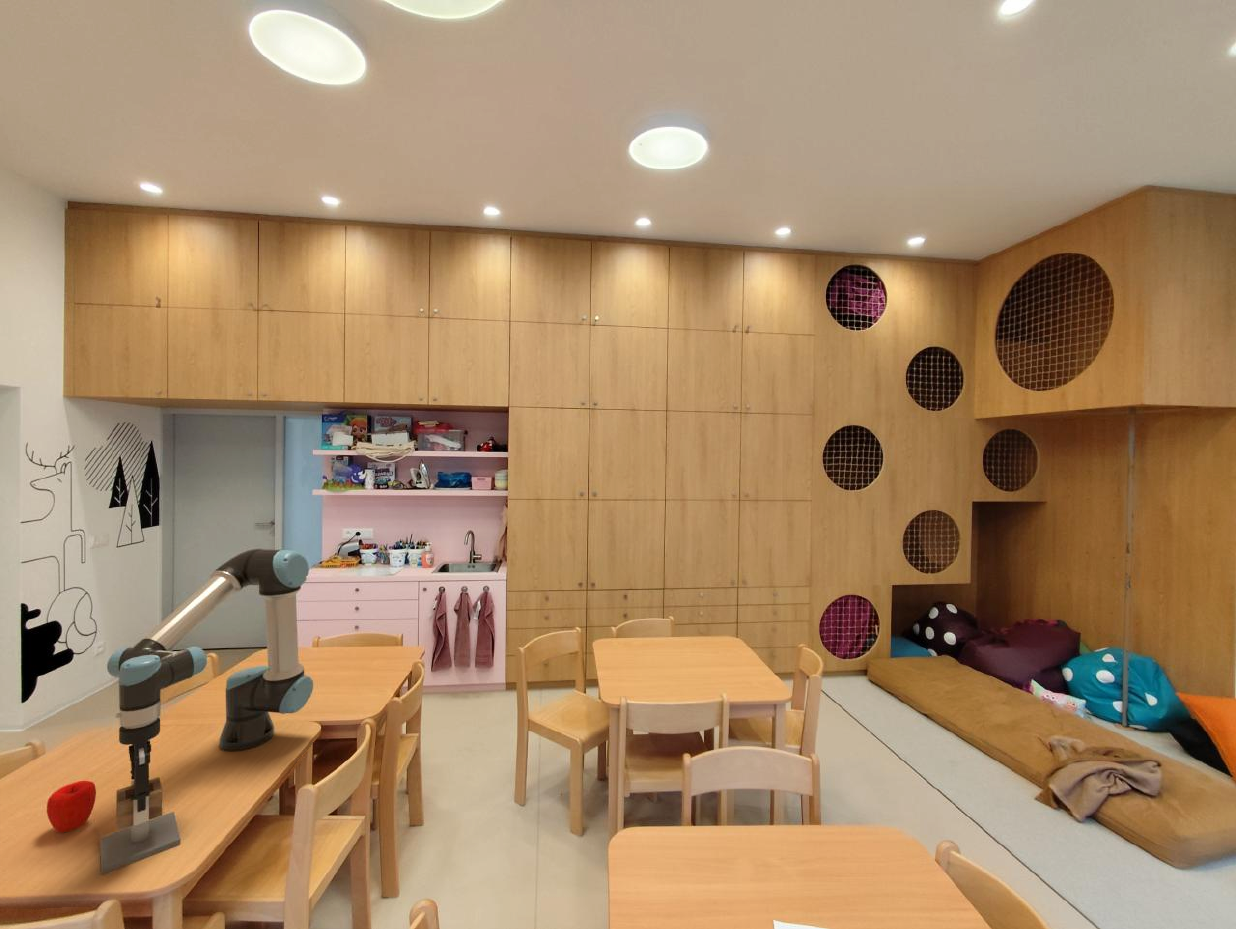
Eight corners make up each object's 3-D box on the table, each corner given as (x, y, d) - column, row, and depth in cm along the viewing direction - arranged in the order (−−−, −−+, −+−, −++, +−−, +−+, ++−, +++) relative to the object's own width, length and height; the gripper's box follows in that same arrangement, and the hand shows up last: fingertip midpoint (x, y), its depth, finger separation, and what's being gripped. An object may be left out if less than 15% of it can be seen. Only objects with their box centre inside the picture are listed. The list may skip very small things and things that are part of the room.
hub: (159, 800, 137) (159, 777, 137) (162, 815, 131) (162, 791, 131) (116, 814, 131) (116, 790, 131) (117, 830, 125) (117, 805, 125)
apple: (64, 842, 131) (64, 799, 131) (36, 838, 133) (36, 795, 132) (105, 818, 140) (105, 777, 140) (78, 814, 141) (78, 774, 141)
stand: (173, 816, 141) (173, 781, 141) (180, 843, 131) (180, 806, 131) (100, 842, 131) (100, 805, 131) (101, 874, 121) (101, 834, 121)
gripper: (117, 712, 136) (117, 801, 136) (121, 743, 121) (120, 843, 121) (156, 702, 141) (156, 788, 141) (164, 732, 126) (164, 827, 126)
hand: (139, 813), depth 131 cm, fingers closed on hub, 8 cm apart
